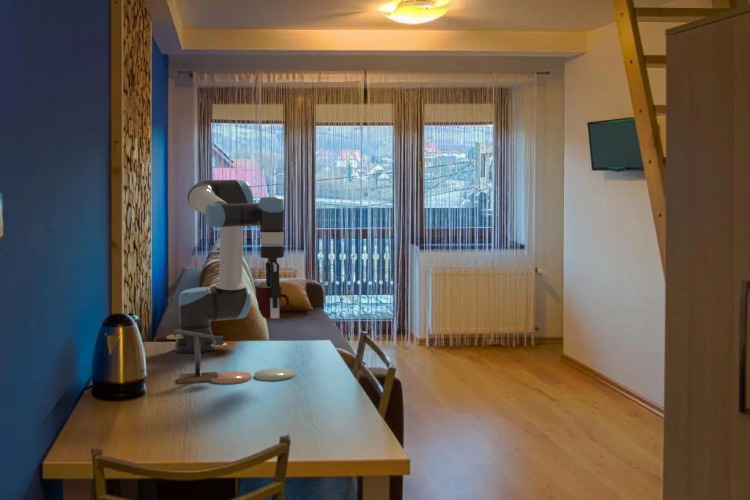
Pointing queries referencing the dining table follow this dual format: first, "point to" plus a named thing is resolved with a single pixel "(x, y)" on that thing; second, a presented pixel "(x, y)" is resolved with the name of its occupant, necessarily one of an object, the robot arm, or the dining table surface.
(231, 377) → the dish terracotta
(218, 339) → the balance
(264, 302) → the mug
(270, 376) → the dish sage
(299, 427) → the dining table surface
